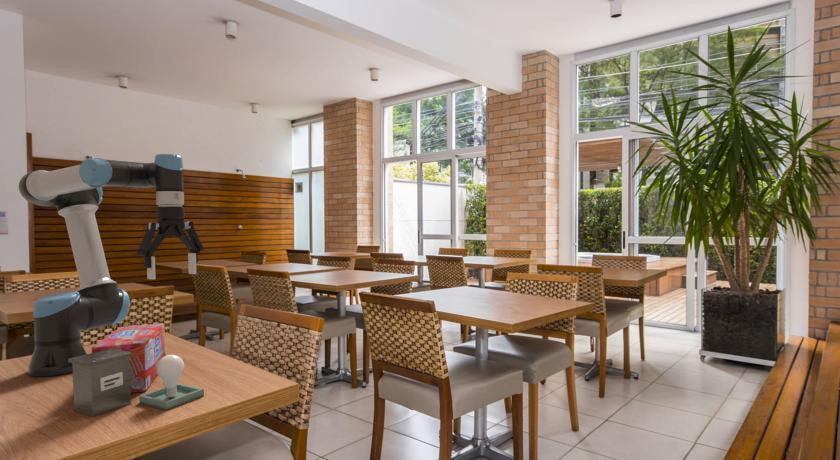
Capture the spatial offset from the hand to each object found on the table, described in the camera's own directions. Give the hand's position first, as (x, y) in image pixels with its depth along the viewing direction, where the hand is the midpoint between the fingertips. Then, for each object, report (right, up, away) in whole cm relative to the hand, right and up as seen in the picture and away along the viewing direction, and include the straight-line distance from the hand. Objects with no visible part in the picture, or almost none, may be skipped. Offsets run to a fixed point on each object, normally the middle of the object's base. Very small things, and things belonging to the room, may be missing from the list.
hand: (172, 276), depth 151 cm
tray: (+11, -29, -23) cm, 39 cm away
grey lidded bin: (-4, -30, -28) cm, 41 cm away
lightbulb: (+11, -29, -23) cm, 39 cm away
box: (-8, -30, -7) cm, 31 cm away
